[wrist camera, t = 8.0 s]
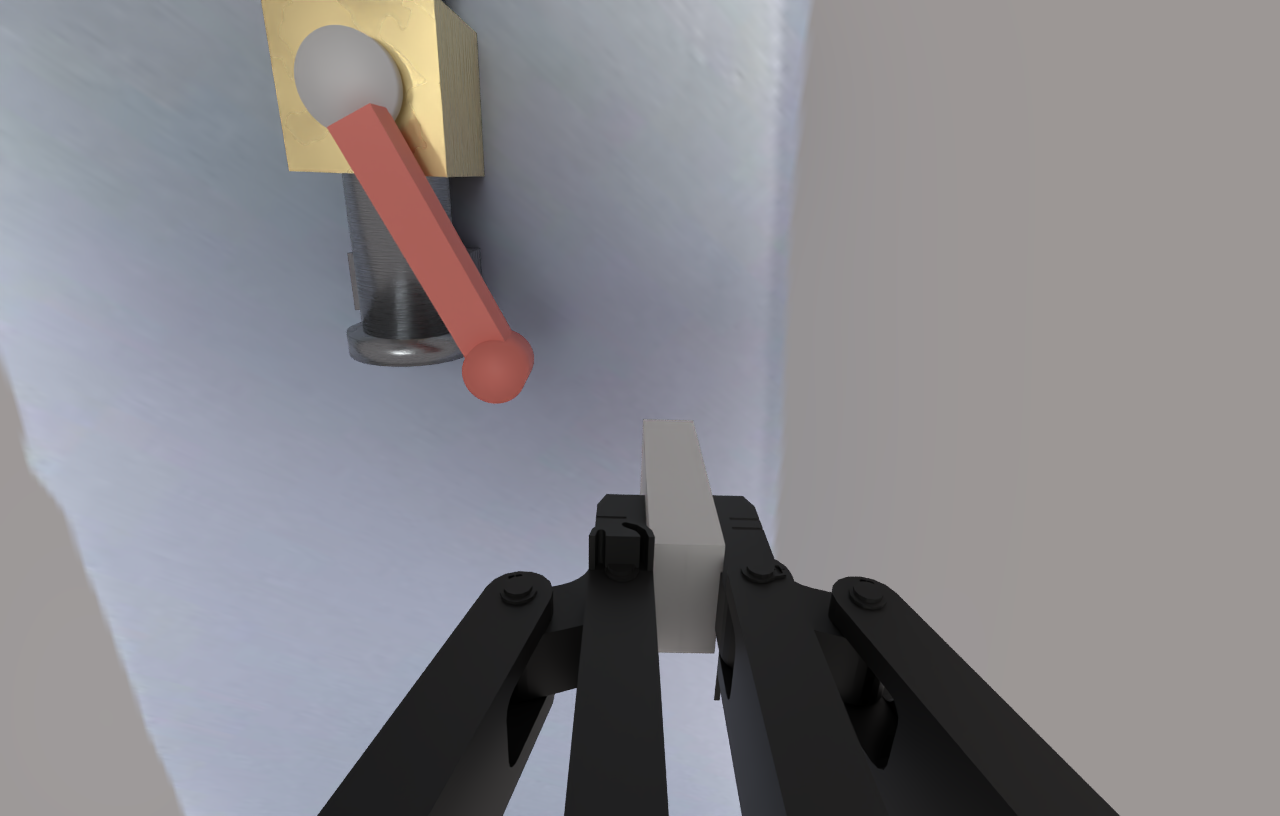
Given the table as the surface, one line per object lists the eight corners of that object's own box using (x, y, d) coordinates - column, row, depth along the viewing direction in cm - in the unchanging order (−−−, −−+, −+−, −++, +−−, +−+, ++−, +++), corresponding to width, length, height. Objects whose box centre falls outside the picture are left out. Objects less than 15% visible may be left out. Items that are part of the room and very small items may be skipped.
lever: (286, 59, 25) (238, 42, 22) (367, 11, 24) (329, -12, 21) (486, 393, 30) (471, 418, 27) (556, 361, 30) (548, 383, 27)
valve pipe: (312, -200, 28) (207, -325, 21) (464, -192, 28) (410, -313, 21) (379, 329, 37) (321, 365, 30) (492, 332, 37) (461, 369, 30)
